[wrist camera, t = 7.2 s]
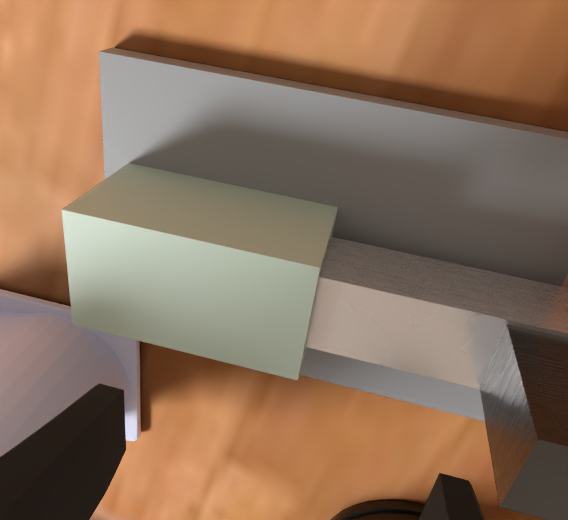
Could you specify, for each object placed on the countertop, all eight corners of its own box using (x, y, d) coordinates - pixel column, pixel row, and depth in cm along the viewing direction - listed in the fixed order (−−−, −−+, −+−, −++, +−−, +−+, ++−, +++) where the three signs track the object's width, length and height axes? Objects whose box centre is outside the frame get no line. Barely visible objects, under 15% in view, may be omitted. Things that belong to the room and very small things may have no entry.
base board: (122, 315, 25) (111, 328, 24) (113, 47, 19) (99, 51, 18) (604, 434, 22) (612, 453, 21) (777, 170, 16) (798, 182, 15)
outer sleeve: (130, 262, 22) (72, 324, 18) (128, 162, 20) (61, 209, 16) (317, 306, 21) (297, 380, 17) (337, 207, 19) (320, 267, 15)
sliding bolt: (252, 285, 20) (181, 426, 14) (259, 221, 19) (186, 345, 12) (616, 370, 19) (718, 569, 12) (655, 307, 17) (793, 497, 11)
